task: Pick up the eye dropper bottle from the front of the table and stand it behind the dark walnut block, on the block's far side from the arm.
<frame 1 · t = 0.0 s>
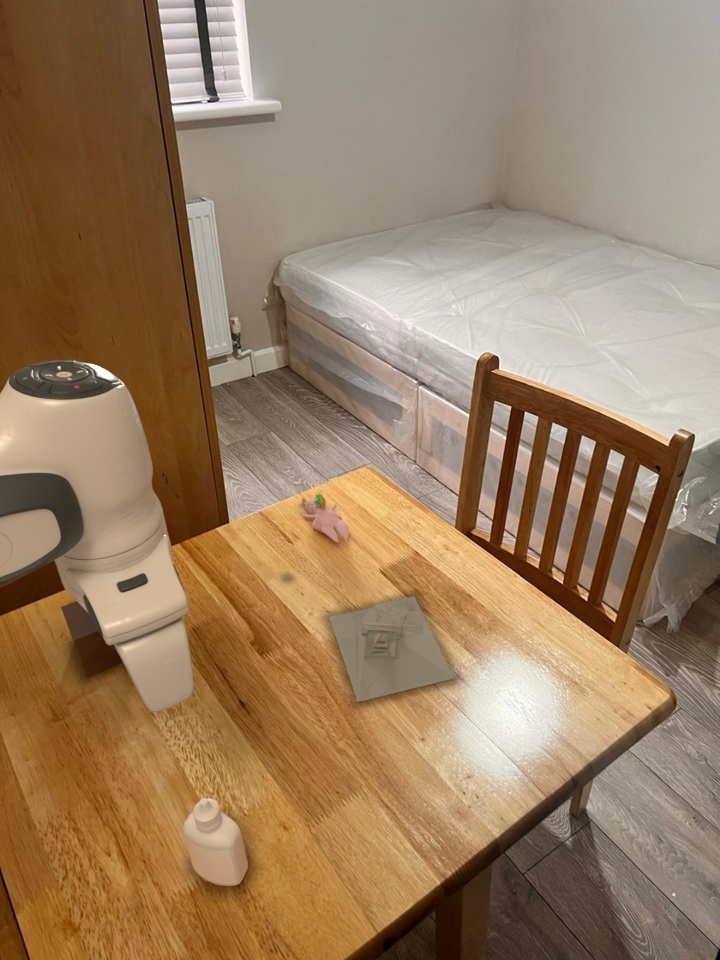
hand: (146, 666, 67), 23 cm above the table, tool pointing down, fingers open, 8 cm apart
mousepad: (364, 625, 102), on the table
eye dropper bottle: (221, 869, 75), on the table
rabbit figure: (325, 528, 120), on the table
walnut block: (106, 649, 99), on the table
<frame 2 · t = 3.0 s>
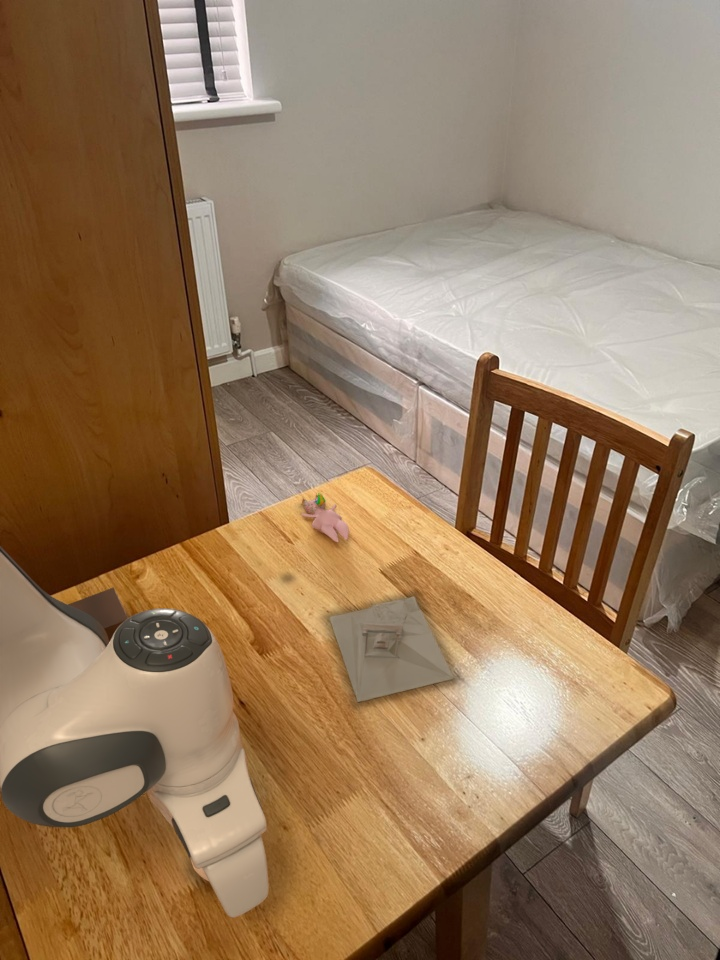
hand: (215, 844, 72), 5 cm above the table, tool pointing down, fingers closed on eye dropper bottle, 5 cm apart
eye dropper bottle: (221, 869, 75), on the table, touching gripper
everything else where it was.
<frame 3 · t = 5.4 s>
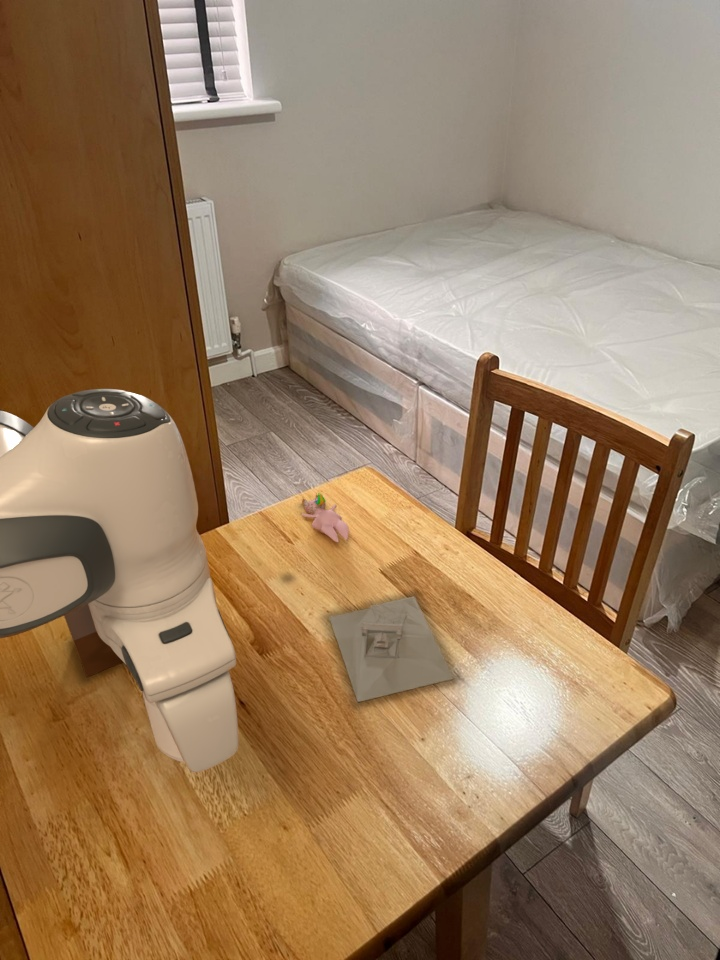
hand: (180, 713, 62), 23 cm above the table, tool pointing down, fingers closed on eye dropper bottle, 5 cm apart
eye dropper bottle: (189, 747, 65), point 19 cm above the table, touching gripper
everything else where it was.
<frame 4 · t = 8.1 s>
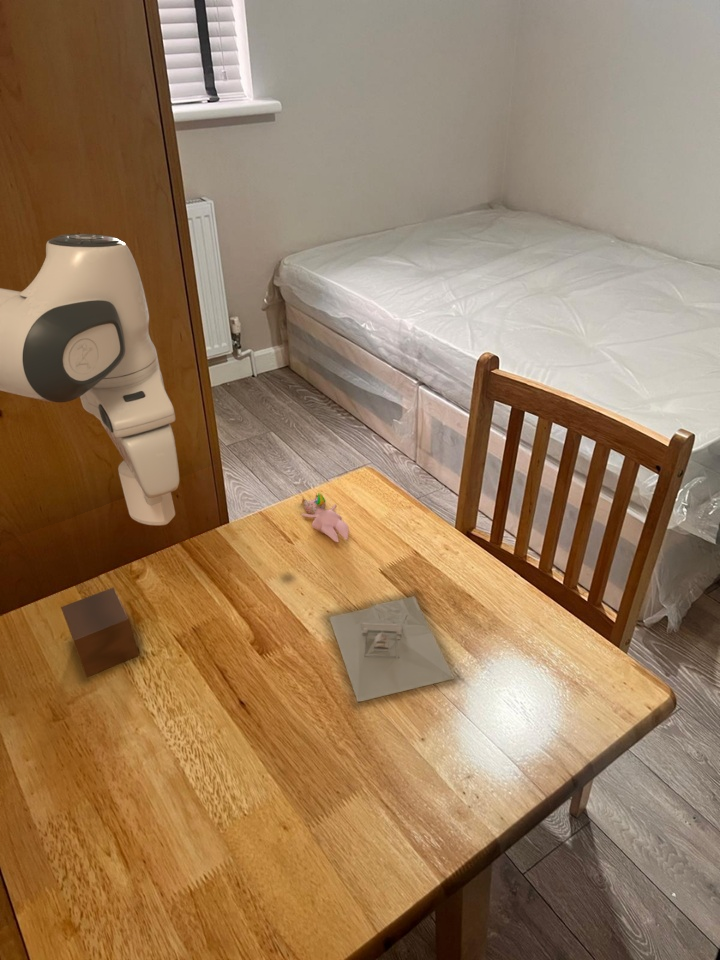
hand: (145, 487, 87), 25 cm above the table, tool pointing down, fingers closed on eye dropper bottle, 5 cm apart
eye dropper bottle: (153, 518, 90), point 20 cm above the table, touching gripper
everything else where it was.
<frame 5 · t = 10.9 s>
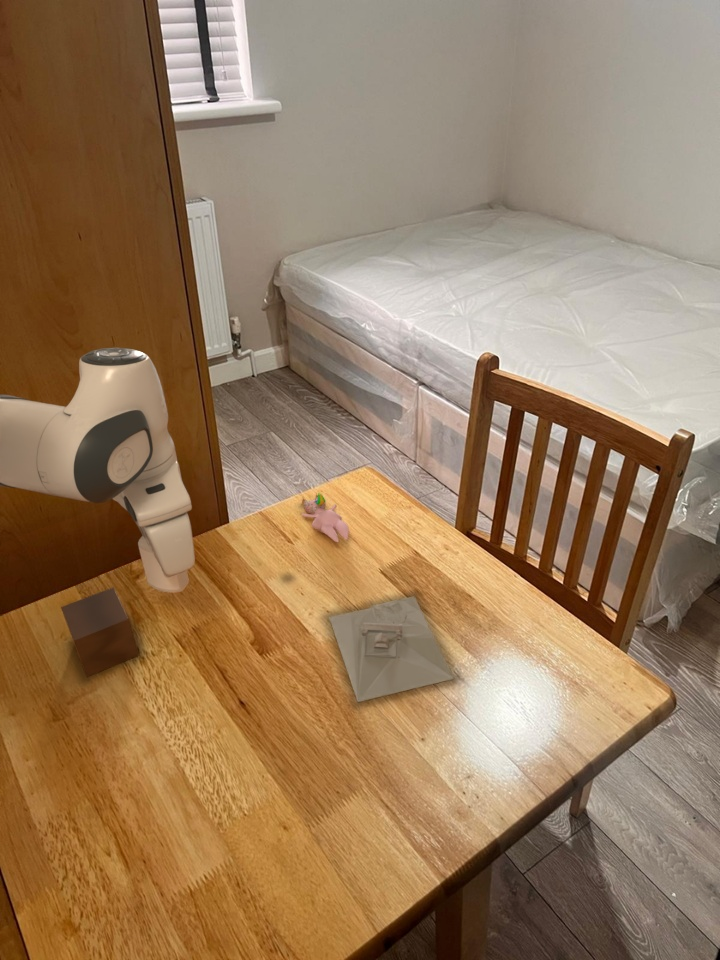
hand: (162, 559, 97), 12 cm above the table, tool pointing down, fingers closed on eye dropper bottle, 5 cm apart
eye dropper bottle: (169, 585, 99), point 7 cm above the table, touching gripper
everything else where it was.
when the fingers open (4 cm above the table, at t = 13.1 s): eye dropper bottle stays where it is, on the table.
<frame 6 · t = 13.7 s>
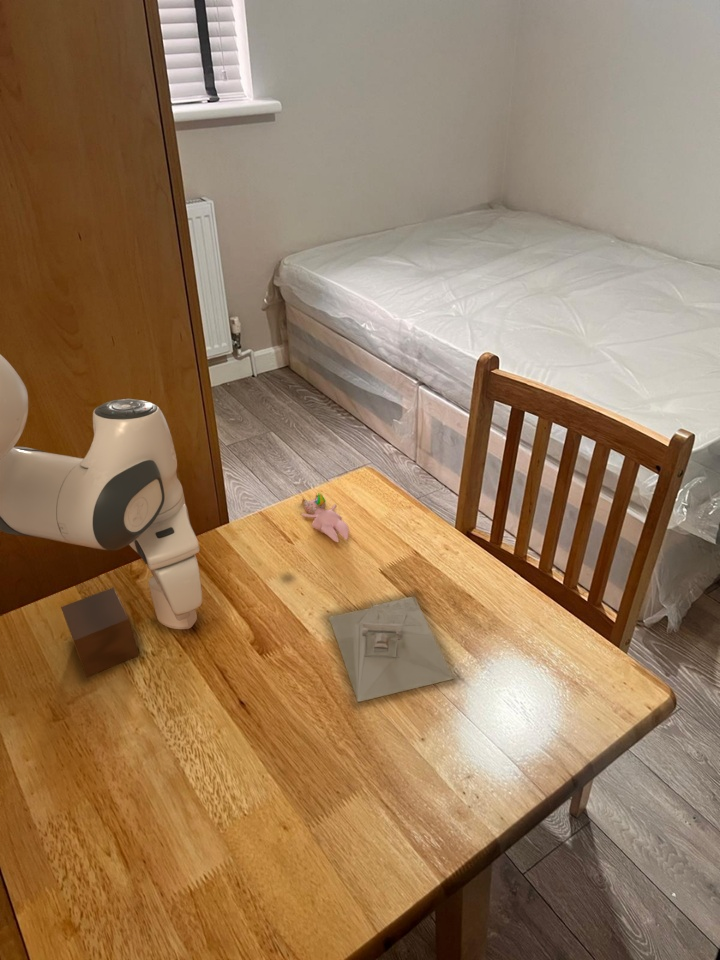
hand: (170, 595, 101), 5 cm above the table, tool pointing down, fingers open, 8 cm apart
eye dropper bottle: (177, 621, 103), on the table
everything else where it was.
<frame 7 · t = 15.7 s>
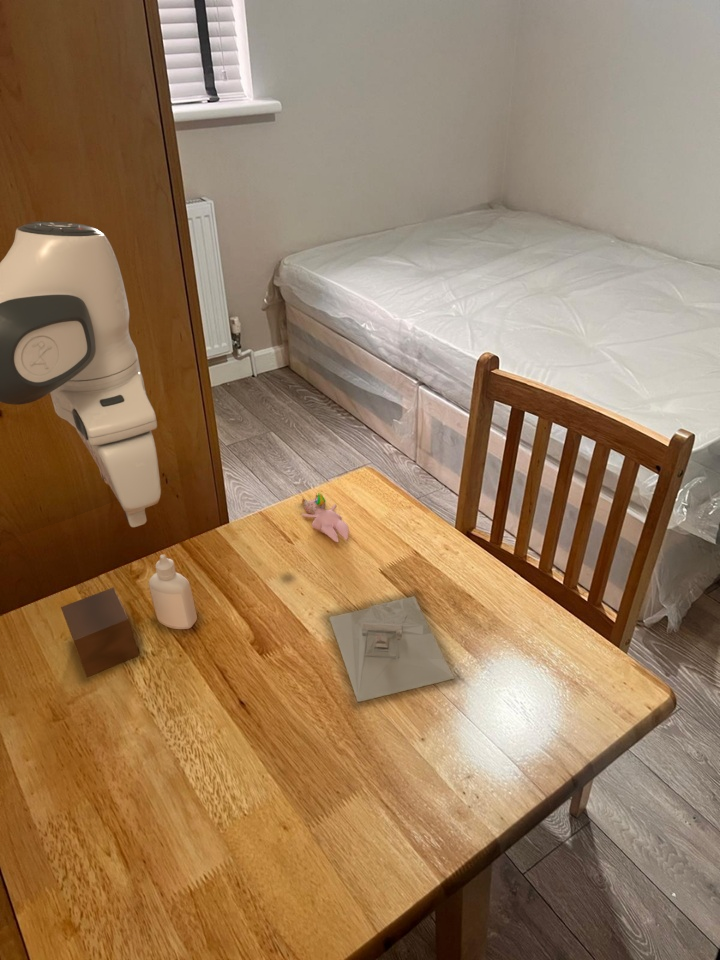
hand: (123, 500, 81), 28 cm above the table, tool pointing down, fingers open, 8 cm apart
nothing on the table moved.
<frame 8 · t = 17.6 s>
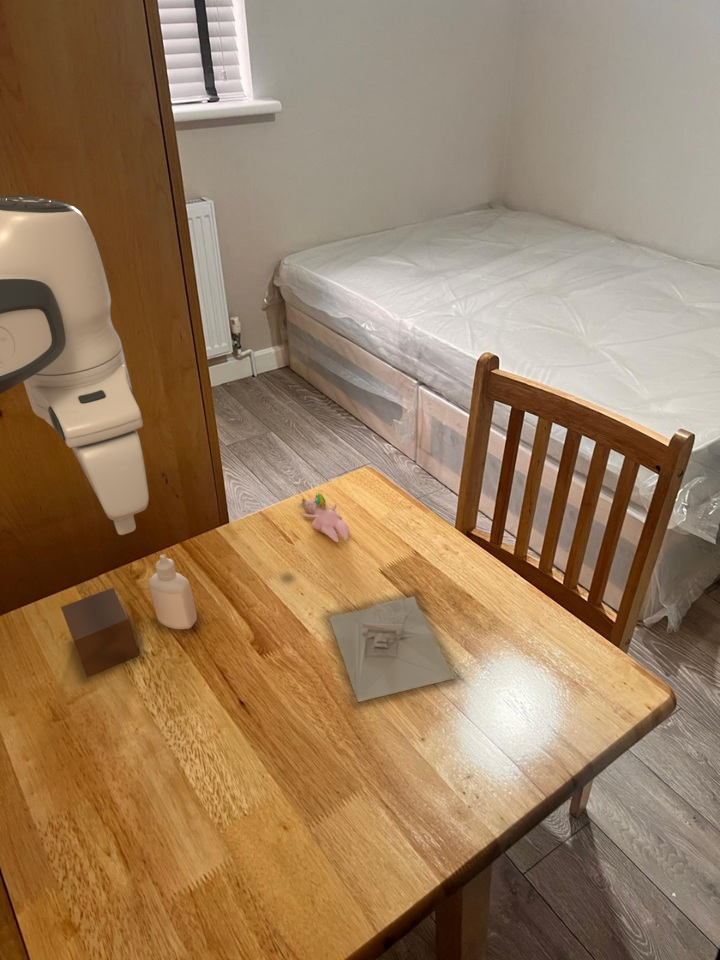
hand: (112, 504, 74), 31 cm above the table, tool pointing down, fingers open, 8 cm apart
nothing on the table moved.
at the end: eye dropper bottle inside the target area on the table beside the walnut block (0.1 cm from its centre), on the table; eye dropper bottle tilted 0°; walnut block moved 0.0 cm from its start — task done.
